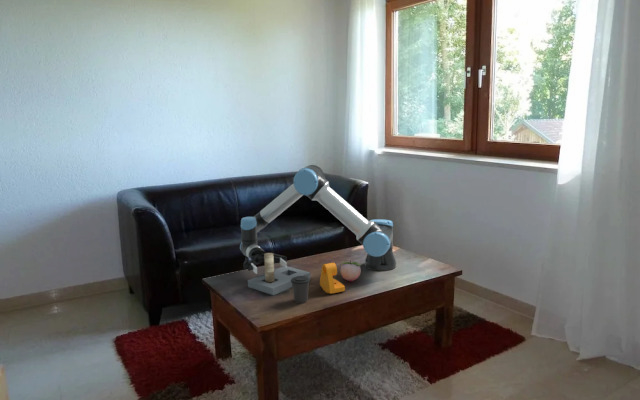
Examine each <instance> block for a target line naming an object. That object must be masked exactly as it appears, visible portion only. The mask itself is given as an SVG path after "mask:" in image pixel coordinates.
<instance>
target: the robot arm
mask: <svg viewBox="0 0 640 400" xmlns="http://www.w3.org/2000/svg"><path fill="white" fill-rule="evenodd" d="M303 196H306V197H308V198H309V200H311V201H317V202H318V203H319V204H320V205H322V207H324V208H325V209H326V210H328V211H329V213H331V214H332V215H333V216H334V217H335V218H336V219H337V220H339V221H340V222H341V223H342V224H343V225H344V226H345V227H346V228H348V230H350V231H351V232H352V233H353V234H354V235H355V236H356V241H358V243H360V244H361V246H362V247H363V249H364V251H365V253H366V258H365V260H364V266H365V267H366V268H367V269H369V270H373V271H390V270H393V269H395V268H396V267H397V260H396V258H395V254H394V250H393V248H394V247H393V243H394V241H393V237H394V236H393V235H394V233H393V232H394V222H393V220H390V219H382V218H381V219H371V220H369V219H367V218H366V217H364V216H363V214H361V213H360V212H359V211H358V210H356V208H355V207H354V206H352V205H351V204H350V203H349V202H348V201H346V200H345V199H344V198H343V197H342V196H341V195H340V194H338V193H337V192H336V191H335V190H334V189H333V188H331V187H330V182H329V181H328V179H326V177H325V173H324V171H323V169H322V168H321V167H320V166H318V165H316V164H309V165H307V166H305V167H303V168H301V169H299V170H298V171H297V172H296V173H295V175H294V177H293V183H292V184H291V185H290V186H289V187H287V188H286V189H285V190H284V191H282V192H281V193H280V194H279V195H278V196H277V197H275V198H274V199H273V200H272V201H271V202H270V203H268V204H267V205H266V206H265V207H263V208H262V209H261V210H260V211H259V212H257V213H256V214H255V215H254V216H245V217H242V218H241V220H240V231H241V232H240V233H241V235H240V236H241V243H240V244H239V249H240V251H241V253H242V254H243V256H245V259H244V262H243V263H242V264H243V266H242V267H243V270H247V271H249V272H250V271H253V273H255V274H256V275H257V274H258V267H257V266H256V265H261V264H263V263H265V261H264V254H265V253H266V251H265V250H264V249H263V248H261V247H260V245H258V233H259V232H260V231H261V230H263V229H264V228H266V227H267V226H268V224H270V223H271V222H273V221H274V220H275V219H276V218H277V217H278V216H280V215H281V214H282V213H283V212H284V211H286V210H288V208H290V207H291V206H292V205H293V204H294V203H296V202H297V201H298V200H299V199H300V198H302V197H303ZM272 253H273V256H274V263H276V264H279V265H280V266H281V267H284V268H287V266H288V263H287V262H288V259H287V256H286V255H280V254H277V253H275V252H272Z"/></svg>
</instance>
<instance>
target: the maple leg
mask: <svg viewBox="0 0 640 400" xmlns="http://www.w3.org/2000/svg"><path fill="white" fill-rule="evenodd" d="M273 253H274V252H265V254H264V261H265V262H264V274H265V282H266V283H273V282H275V278H274V270H275V264H274V263H275V262H274V256H273Z"/></svg>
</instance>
